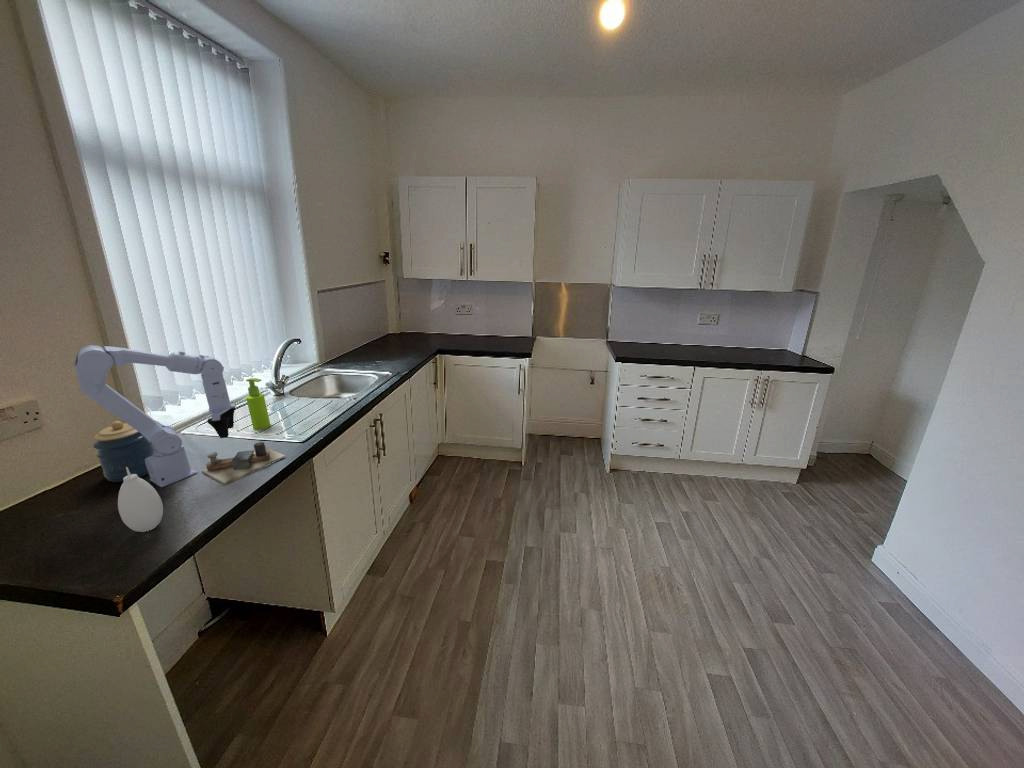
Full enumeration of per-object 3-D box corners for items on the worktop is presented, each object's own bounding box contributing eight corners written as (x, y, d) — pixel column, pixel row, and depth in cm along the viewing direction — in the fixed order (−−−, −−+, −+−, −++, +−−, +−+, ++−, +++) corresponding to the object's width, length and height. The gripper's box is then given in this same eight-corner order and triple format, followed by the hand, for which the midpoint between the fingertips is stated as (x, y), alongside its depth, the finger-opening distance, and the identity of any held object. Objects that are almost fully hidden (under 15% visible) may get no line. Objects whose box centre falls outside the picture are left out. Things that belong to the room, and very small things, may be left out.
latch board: (224, 484, 121) (223, 482, 121) (202, 472, 128) (201, 470, 128) (285, 457, 136) (285, 455, 136) (263, 447, 143) (262, 445, 143)
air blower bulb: (127, 529, 102) (103, 466, 96) (166, 515, 107) (146, 455, 101) (129, 544, 97) (104, 479, 91) (170, 529, 102) (149, 466, 96)
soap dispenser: (264, 430, 157) (253, 381, 151) (249, 429, 158) (238, 380, 152) (276, 424, 162) (265, 377, 156) (261, 422, 164) (250, 376, 157)
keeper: (250, 470, 129) (247, 459, 127) (234, 472, 127) (231, 461, 126) (256, 460, 135) (253, 449, 133) (240, 462, 133) (238, 451, 132)
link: (205, 471, 126) (201, 456, 124) (209, 465, 130) (205, 450, 128) (268, 460, 132) (265, 445, 131) (270, 454, 136) (266, 440, 134)
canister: (128, 485, 121) (108, 432, 116) (94, 481, 124) (73, 428, 118) (170, 463, 133) (154, 414, 128) (139, 460, 136) (122, 411, 130)
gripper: (226, 399, 124) (236, 439, 129) (236, 385, 137) (245, 422, 141) (198, 403, 122) (210, 443, 126) (211, 388, 134) (221, 425, 139)
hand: (227, 432), depth 134 cm, fingers open, 7 cm apart
